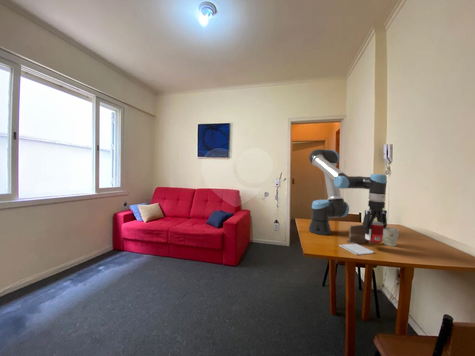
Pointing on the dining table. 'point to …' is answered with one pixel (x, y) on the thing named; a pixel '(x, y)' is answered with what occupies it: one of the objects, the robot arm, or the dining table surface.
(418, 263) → the dining table surface
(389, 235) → the mug
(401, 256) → the dining table surface
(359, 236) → the brown block
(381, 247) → the dining table surface
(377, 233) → the canned food
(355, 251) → the mat
